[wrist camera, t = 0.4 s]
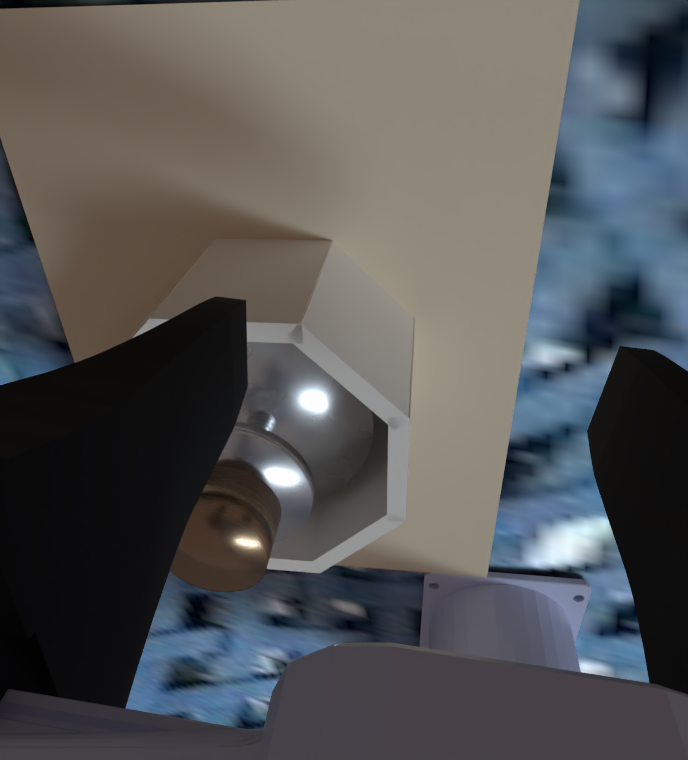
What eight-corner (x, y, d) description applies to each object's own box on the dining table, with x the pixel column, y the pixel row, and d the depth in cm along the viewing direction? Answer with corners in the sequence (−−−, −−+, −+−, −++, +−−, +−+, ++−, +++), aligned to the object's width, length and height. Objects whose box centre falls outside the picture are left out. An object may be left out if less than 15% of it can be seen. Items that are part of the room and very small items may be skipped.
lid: (374, 500, 22) (357, 653, 17) (179, 487, 23) (109, 628, 18) (374, 320, 18) (351, 453, 13) (136, 312, 19) (29, 434, 14)
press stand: (485, 567, 30) (497, 700, 24) (140, 539, 32) (80, 655, 26) (576, -10, 16) (647, -3, 11) (-29, 9, 18) (-222, 22, 13)
